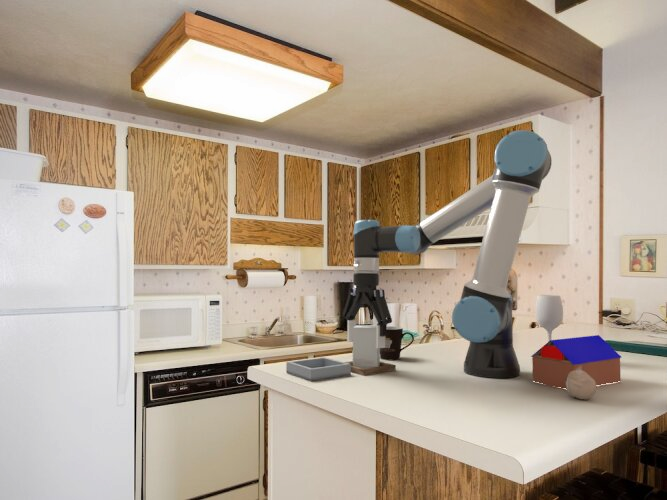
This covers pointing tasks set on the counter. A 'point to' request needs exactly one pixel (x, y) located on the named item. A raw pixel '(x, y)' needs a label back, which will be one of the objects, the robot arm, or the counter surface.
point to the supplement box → (365, 347)
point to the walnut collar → (383, 368)
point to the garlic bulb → (580, 384)
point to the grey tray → (318, 368)
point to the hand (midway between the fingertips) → (365, 344)
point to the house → (576, 361)
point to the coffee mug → (393, 343)
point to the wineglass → (549, 312)
